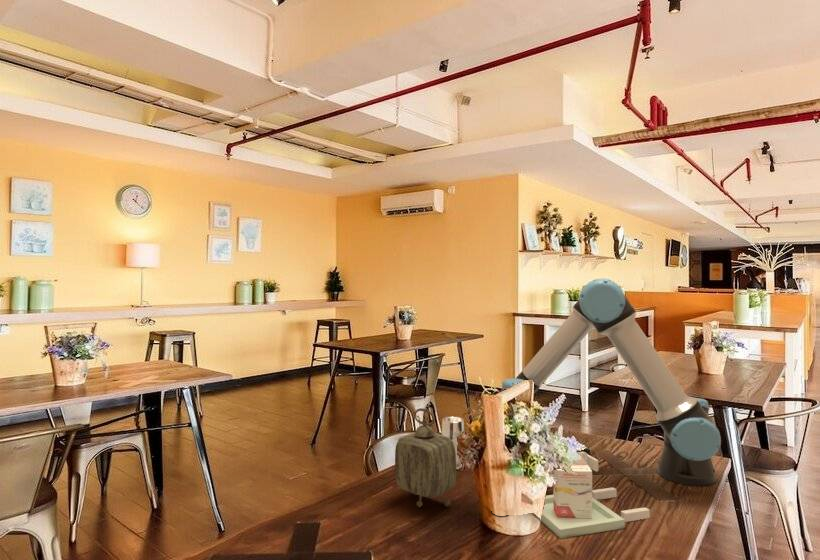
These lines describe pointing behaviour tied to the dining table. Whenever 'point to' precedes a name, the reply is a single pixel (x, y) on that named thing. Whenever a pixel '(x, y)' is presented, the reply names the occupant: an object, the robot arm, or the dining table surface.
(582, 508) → the ink cartridge box
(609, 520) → the sage tray
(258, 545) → the dining table surface
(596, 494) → the cartridge bay
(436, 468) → the tabletop clock
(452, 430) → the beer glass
